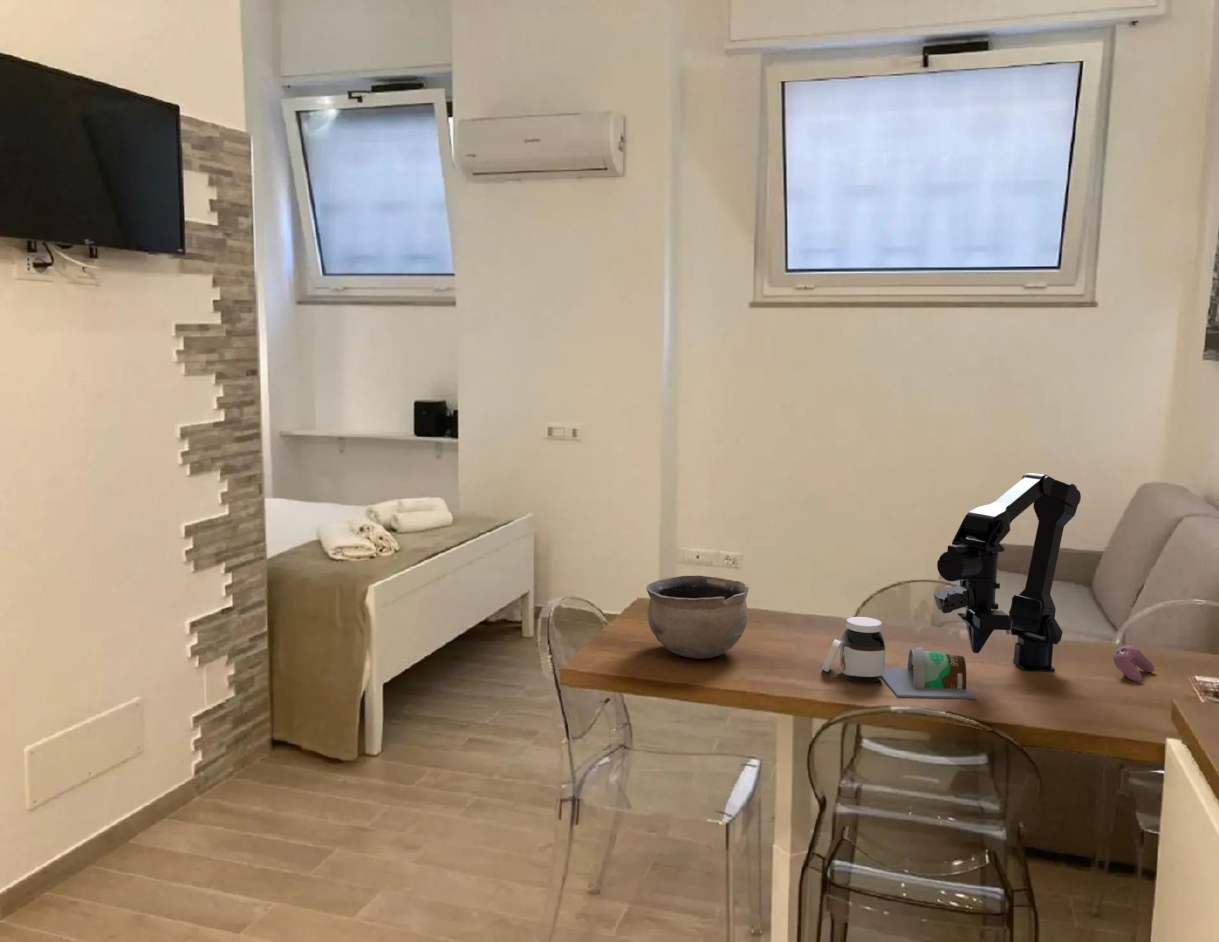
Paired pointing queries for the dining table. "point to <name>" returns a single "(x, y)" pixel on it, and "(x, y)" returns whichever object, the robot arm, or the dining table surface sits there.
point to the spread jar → (860, 651)
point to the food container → (937, 669)
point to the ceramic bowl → (697, 614)
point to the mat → (903, 687)
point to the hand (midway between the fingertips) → (975, 652)
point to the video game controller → (1131, 662)
